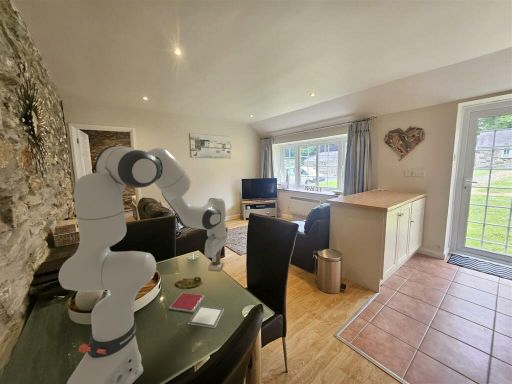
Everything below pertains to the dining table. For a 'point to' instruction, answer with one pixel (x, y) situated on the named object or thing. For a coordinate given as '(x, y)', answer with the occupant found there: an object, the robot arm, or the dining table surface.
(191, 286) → the seal
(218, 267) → the stamp
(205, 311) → the sheet
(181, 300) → the ink pad
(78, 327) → the dining table surface
